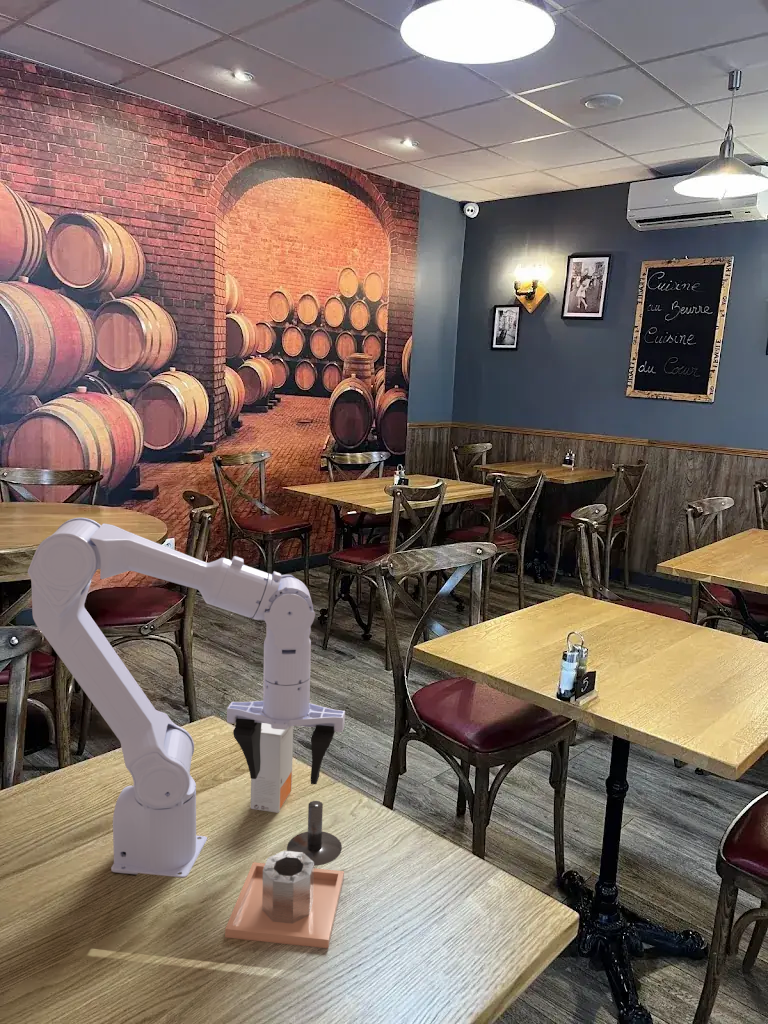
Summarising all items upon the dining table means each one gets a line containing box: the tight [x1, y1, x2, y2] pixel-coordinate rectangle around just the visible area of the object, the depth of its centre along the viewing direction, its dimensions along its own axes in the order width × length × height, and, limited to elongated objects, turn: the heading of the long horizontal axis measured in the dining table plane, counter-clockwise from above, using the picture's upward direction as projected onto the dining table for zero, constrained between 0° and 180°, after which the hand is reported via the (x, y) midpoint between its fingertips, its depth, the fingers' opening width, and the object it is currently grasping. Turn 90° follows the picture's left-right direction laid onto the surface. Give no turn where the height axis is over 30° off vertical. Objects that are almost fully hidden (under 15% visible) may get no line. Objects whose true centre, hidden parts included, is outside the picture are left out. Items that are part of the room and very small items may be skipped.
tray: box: [224, 861, 345, 950], centre depth 85 cm, size 11×11×2 cm
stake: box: [286, 800, 343, 866], centre depth 95 cm, size 7×7×6 cm
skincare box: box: [250, 723, 294, 814], centre depth 105 cm, size 6×4×12 cm
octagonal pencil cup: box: [262, 850, 315, 924], centre depth 85 cm, size 5×5×5 cm
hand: (285, 777), depth 95 cm, fingers open, 7 cm apart
